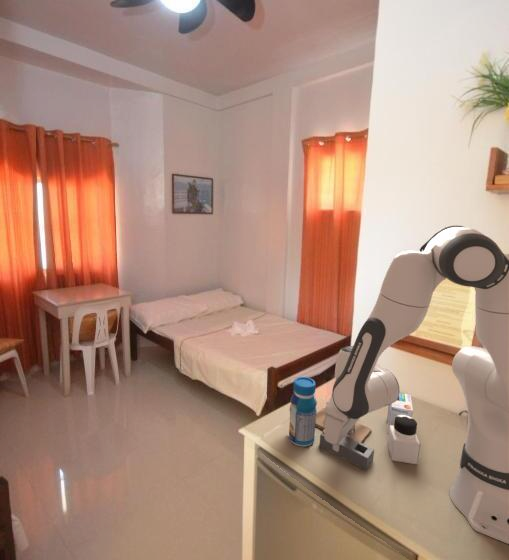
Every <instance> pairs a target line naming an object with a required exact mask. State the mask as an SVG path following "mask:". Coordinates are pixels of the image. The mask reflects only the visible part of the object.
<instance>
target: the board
mask: <svg viewBox="0 0 509 560" xmlns="http://www.w3.org/2000/svg"><path fill="white" fill-rule="evenodd" d="M328 402H329V401H328ZM328 402H326V405H327V403H328ZM326 405H325V406H326ZM326 416H327V413H325V407H323V408H322V409H320V410H319V411H317V413H316V422H315V428H318V429H320V430H322V431H323V430H324V429H325V419H326ZM371 433H372V428H370V427H368V426H365V425H363V424H361V423H359V422H358V421H357V422H356V424H355V427H354V430H353V434H352V435H351V436H350V435H348V434H346V436H348V437H350V438H353V439H355V440H357V441H359V442H361V443H363V444H364V442H365V441H366V440H367V438H368V437H369V436H370V434H371Z"/></svg>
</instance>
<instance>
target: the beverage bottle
mask: <svg viewBox="0 0 509 560" xmlns="http://www.w3.org/2000/svg"><path fill="white" fill-rule="evenodd" d="M316 386H317V385H316V381H315V380H314V379H313V378H311V377H308V376H298V377H296V378H295V379H294V380H293V388H292V389H293V393H292V395H291V397H290V405H289V426H288V427H289V428H288V439H289V441H290V442H291V443H292V444H294V445H296V446H298V447H308V446H311V445H312V444H314V442H315V437H316V436H315V431H316V427H315V422H316V414H317V413H318V409H317V404H318V402H317V398H316V396H315V393H316Z"/></svg>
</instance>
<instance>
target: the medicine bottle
mask: <svg viewBox="0 0 509 560" xmlns="http://www.w3.org/2000/svg"><path fill="white" fill-rule="evenodd" d="M417 428H418V422H417V421H416V419H415V418H413V417H412V418H411V417H409V416H406V415H398V416H396V417H395V422H394V426H392V425H390V427H389V435H388V434H387V436H388V437H387V448H388V451H389V455H390V458H391V461H392V462H398V463H404V464H406V463H407V464H411V465H418V461H419V454H420V447H421V443H420V440H419V438H418V436H417Z"/></svg>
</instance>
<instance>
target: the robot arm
mask: <svg viewBox="0 0 509 560" xmlns="http://www.w3.org/2000/svg"><path fill="white" fill-rule="evenodd" d="M445 280H448V281H450V282H452V283H453V284H456V285H458V286H461V287H462V286H464V287H467V288H468V287H470V288H474V292H475V297H474V298H475V302H474V304H475V308H474V309H475V310H474V311H475V335H476V337H477V339H478V341H479V343H480V344H481V345H482V346H483V347H480V346H476V345H475V346H474V345H469V346H465V347H463V348H461V349H460V350H459V351H458V352H457V353H455V355H454V357H453V359H452V363H451V369H452V373H453V374H454V376H455V378H456V379H457V380H458V382H459V385H460V387H461V390H462V392H463V396H464V400H465V404H466V409H467V417H468V418H467V419H468V423H467V431H466V439H465V443H464V444H463V446H462V448H461V453H460V456H459V457H460V458H459V467H460V468H459V470H458V474H457V476H456V477H455V480H454V482H453V483H452V485H451V487H450V489H449V496H450V498H451V500H452V501H451V502H452V503H453V504H454V506H455V507H456V508H457V509H458V510H459V512H460V513H462V514H463V516H464V517H465V518H466V519H467V521H468V523H469V525H470V526H471V528H473V530H474V531H476V532H478V533H480V534H483V535H485V536H487V537H490V538H493V539H495V540H498V541H499V542H500V541H501V542H503V543H506V544H507V545H509V253H504V252H503V251H502V249H501V248H500V246H499V245H498V243H496V242H495V241H494V240H493V239H492V238H491V237H489V236H486V235H485V234H484V233H482V232H480V231H478V230H477V229H475V228H470V227H466V226H463V225H451V226H450V225H449V226H446V227H444V228H443V227H442V228H441V229H439V230H438V231H437V232H435V233H434V234H433V235H432V236H431V237H430V238H429V239H428V240H427V241H426V242H425V243H424V244H423V245H421V247H420V248H419V251H416V250H407V251H401V252H400V253H398V254H396V255H395V256H394V257H393V259H392V261H391V263H390V265H389V267H388V269H387V271H386V272H385V276H384V278H383V281H382V284H381V286H380V290H379V294H378V297H377V300H376V301H375V304H374V307H373V308H372V311H371V312H370V314H369V316H368V318H367V319H366V320H365V322H364V323H363V325H362V327H361V328H360V329H359V332H358V334H357V337H356V339H355V341H354V344H353V345H349V346H345V347H342V348H340V350H339V352H338V354H337V358H336V361H335V370H334V376H335V381H334V383H333V386H332V392H331V395H330V398H329V400H328V403H327V402H326V403H327V405H325V407H324V408H325V413H327V416H326V419H325V430H324V438H325V440H326V441H327V442H329V443H331V444H333V450H334V451H336V452H338V451H339V450H340V447H341V444H340V443H339V442H340V441H341V440H342V439H343V438H344V436H345V435H346V434H348V435H350V436H351V435H352V434H353V430H354V427H355V424H356V422H357V423H358V421H359V419H361V418H362V417H365V416H366V415H368V414H369V413H371V412H375V411H377V410H380V409H382V408H385V407H387V406H389V405H390V404H392V403H394V402H395V401H397V399H398V397H399V393H400V385H399V382H398V380H397V378H396V376H395V375H394V373H392V372H391V370H388V369H387V368H384V367H382V366H381V365H380V364H379V363H378V361H379V358H380V357H381V356H382V354H383V352H384V351H386V350H387V349H388V348H389V347H391V346H392V345H393V344H395V343H397V342H398V341H400V340H401V339H404V338H405V337H408V336H410V335H411V334H412V333H415V332H416V331H417V330H418V329H419V328H420V326H421V324H422V323H423V321H424V320H425V317H426V316H427V313H428V311H429V307H430V304H431V301H432V297H433V293H434V292H435V290H436V288H437V287H438V286H439V285H440V284H441V283H442V282H444V281H445Z"/></svg>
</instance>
